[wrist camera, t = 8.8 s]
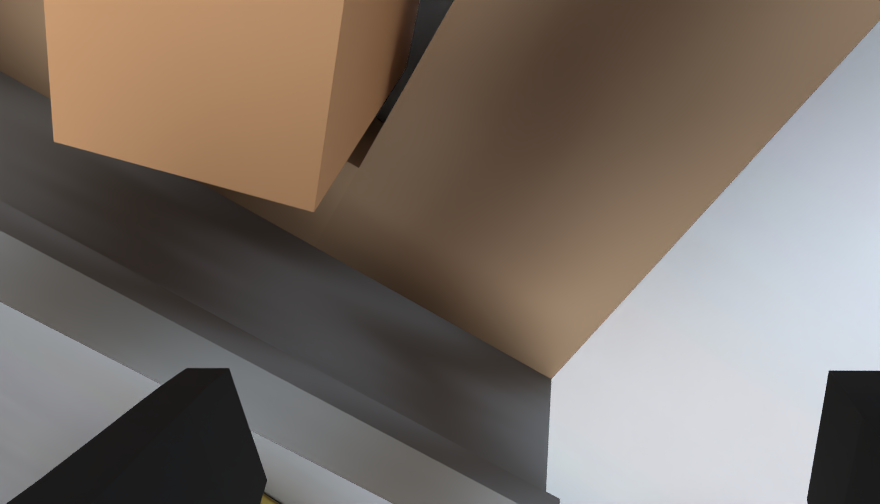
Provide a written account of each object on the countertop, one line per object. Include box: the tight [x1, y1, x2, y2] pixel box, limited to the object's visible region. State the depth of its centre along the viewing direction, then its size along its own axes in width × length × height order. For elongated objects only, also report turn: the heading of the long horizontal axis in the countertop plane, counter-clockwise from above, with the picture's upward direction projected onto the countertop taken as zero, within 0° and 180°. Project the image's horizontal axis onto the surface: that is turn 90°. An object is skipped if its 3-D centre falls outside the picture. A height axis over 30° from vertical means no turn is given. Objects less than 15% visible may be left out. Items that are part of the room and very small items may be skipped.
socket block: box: [0, 0, 880, 504], centre depth 13 cm, size 18×11×7 cm, turn 61°
